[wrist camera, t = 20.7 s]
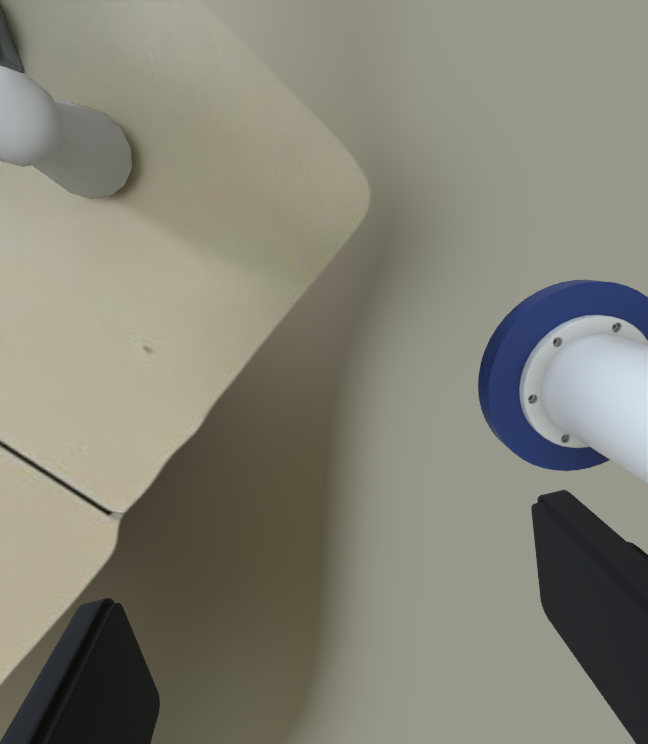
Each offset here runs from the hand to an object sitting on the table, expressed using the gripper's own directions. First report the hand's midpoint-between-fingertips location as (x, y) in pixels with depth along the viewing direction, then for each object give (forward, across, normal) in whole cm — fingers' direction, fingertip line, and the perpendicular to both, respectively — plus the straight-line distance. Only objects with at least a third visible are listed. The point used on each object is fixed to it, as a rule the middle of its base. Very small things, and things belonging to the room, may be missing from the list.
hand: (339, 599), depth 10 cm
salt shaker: (+30, +11, -17) cm, 36 cm away
